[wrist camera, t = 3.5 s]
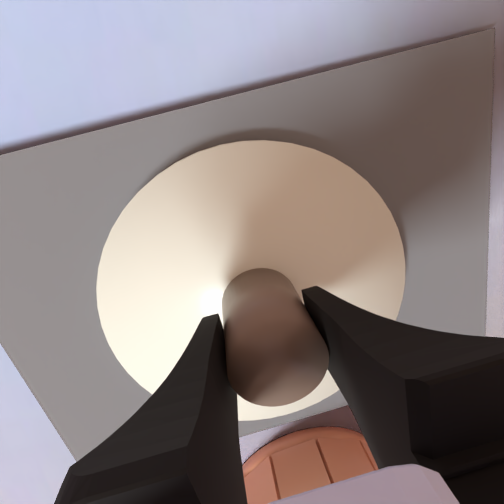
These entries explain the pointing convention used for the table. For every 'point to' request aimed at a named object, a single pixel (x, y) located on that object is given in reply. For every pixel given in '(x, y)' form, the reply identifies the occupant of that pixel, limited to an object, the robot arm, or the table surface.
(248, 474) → the bowl
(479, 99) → the mat
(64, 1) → the table surface
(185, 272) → the lid
